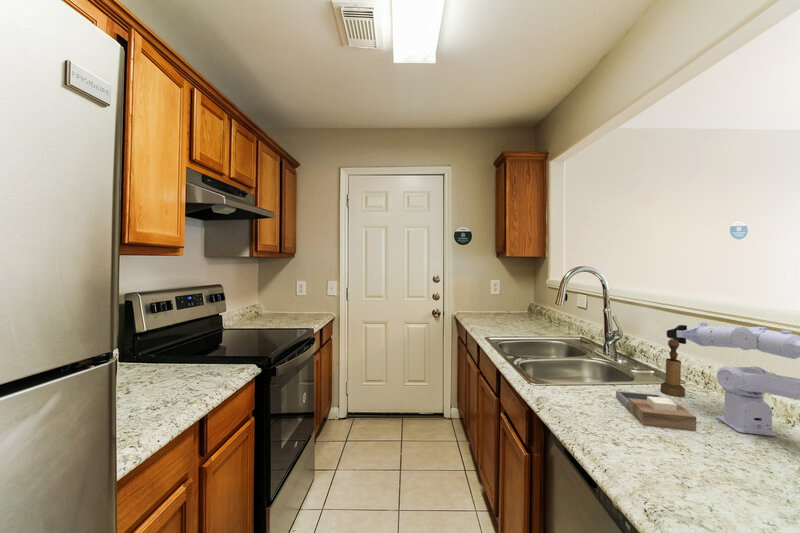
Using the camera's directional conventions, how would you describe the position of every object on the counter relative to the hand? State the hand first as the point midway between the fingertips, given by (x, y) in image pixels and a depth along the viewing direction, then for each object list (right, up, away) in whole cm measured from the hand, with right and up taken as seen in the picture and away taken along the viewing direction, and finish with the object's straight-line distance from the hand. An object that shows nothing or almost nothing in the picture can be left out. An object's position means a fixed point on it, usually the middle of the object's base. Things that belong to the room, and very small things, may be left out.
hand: (678, 334), depth 115 cm
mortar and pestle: (+1, -20, +4) cm, 21 cm away
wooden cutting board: (-19, -20, -17) cm, 33 cm away
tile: (-19, -17, -18) cm, 31 cm away
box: (-16, -20, -7) cm, 27 cm away
